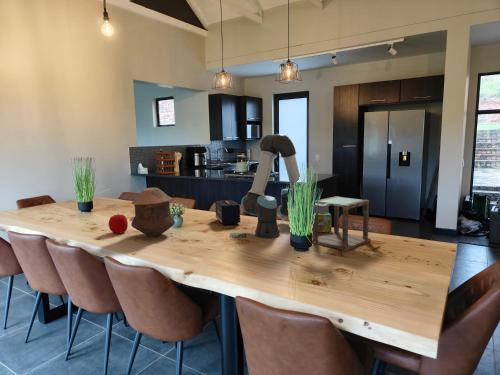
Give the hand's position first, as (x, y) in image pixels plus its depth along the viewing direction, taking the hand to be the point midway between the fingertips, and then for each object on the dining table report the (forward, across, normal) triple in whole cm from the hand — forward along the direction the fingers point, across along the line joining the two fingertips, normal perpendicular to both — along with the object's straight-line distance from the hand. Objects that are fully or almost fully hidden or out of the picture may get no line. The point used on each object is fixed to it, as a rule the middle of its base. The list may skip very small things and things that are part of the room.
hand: (323, 218), depth 214 cm
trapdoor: (+20, +20, +12) cm, 31 cm away
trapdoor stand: (+20, +12, -8) cm, 25 cm away
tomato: (-93, +93, -9) cm, 132 cm away
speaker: (-64, +26, -9) cm, 70 cm away
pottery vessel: (-70, +80, -9) cm, 107 cm away
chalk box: (0, 0, -9) cm, 9 cm away
